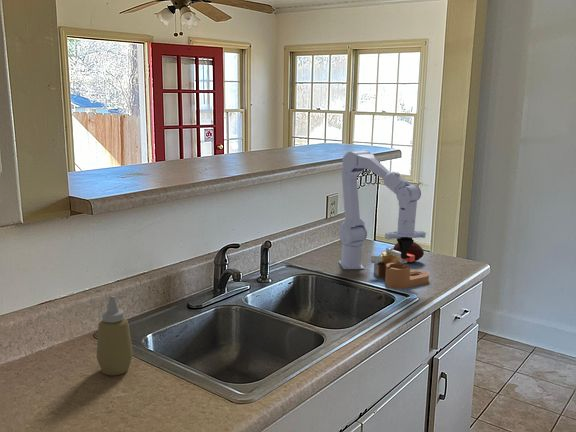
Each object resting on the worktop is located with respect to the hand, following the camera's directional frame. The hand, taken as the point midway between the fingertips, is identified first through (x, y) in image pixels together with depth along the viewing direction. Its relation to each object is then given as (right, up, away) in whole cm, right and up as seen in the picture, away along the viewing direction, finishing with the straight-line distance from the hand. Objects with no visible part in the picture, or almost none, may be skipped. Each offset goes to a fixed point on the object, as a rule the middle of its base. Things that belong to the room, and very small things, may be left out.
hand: (403, 258), depth 191 cm
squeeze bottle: (-80, -21, -63) cm, 104 cm away
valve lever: (-1, 0, +4) cm, 4 cm away
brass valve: (-4, -7, +10) cm, 13 cm away
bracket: (+2, -9, +3) cm, 10 cm away
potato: (+7, -4, +28) cm, 29 cm away
